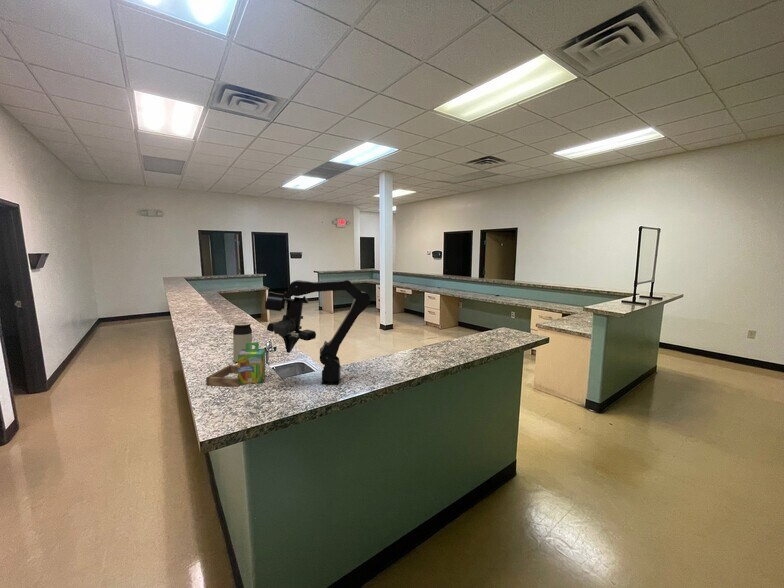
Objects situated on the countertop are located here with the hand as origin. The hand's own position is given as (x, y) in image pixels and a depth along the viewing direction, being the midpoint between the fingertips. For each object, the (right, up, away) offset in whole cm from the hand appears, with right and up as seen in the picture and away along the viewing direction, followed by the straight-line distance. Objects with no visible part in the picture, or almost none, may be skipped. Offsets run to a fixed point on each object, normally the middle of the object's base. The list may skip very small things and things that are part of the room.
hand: (288, 352), depth 122 cm
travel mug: (-31, -9, +28) cm, 43 cm away
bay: (-23, -11, +4) cm, 25 cm away
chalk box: (-16, -12, +3) cm, 20 cm away
